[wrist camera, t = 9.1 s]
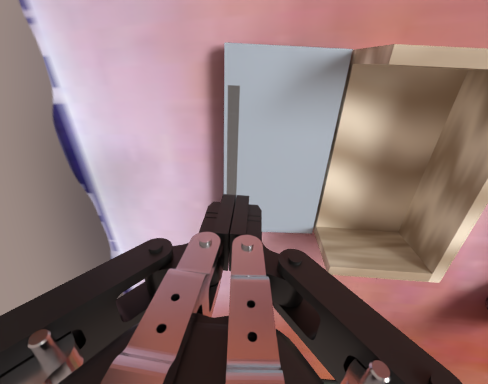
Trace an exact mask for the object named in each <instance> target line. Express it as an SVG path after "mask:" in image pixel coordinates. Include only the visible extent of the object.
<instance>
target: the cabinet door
mask: <svg viewBox="0 0 488 384" xmlns="http://www.w3.org/2000/svg"><path fill="white" fill-rule="evenodd" d="M352 50H353V49H339V48H319V47H300V46H281V45H261V44H242V43H224V194H231V195H236V197H237V195H245V196H249V204H251V205H258V206H259V207H260V209H261V210H262V232H284V233H312V231H313V226H314V222H315V217H316V213H317V208H318V204H319V199H320V195H321V190H322V186H323V181H324V177H325V172H326V168H327V163H328V159H329V154H330V150H331V145H332V141H333V136H334V132H335V127H336V122H337V118H338V113H339V109H340V104H341V100H342V95H343V91H344V86H345V82H346V77H347V73H348V68H349V64H350V59H351V55H352Z"/></svg>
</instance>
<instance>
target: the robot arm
mask: <svg viewBox="0 0 488 384" xmlns="http://www.w3.org/2000/svg"><path fill="white" fill-rule="evenodd" d="M228 266H229V271H231V281H230V303H229V316H224V317H217V318H211V316H212V313H213V309H214V305H215V302H216V298H217V295H218V291H219V287H220V283H221V277H222V272H223V270H225V271H228ZM143 279H145V282H144V283H142V284H140V285H139V286H137V287H136V288H134V289H132V290H131V291H129V292H128V293H126V294H124V295H123V296H121V297H120V298H118V296H119V295H120V294H121V293H122V292H124V291H125V290H127V289H128V288H130V287H132V286H133V285H135V284H137V283H138V282H140V281H142V280H143ZM117 298H118V299H117ZM273 306H274V308H275V309H276V311H277V312H278V313H279V314H280V315H281V316H282V318H283V319H284V320H285V321H286V322H287V323H288V325H289V326H290V327H291V328H292V329H293V331H294V332H295V333H296V334H297V335H298V336H299V338H300V339H301V340H302V341H303V342H304V343H305V345H306V346H307V347H308V348H309V349H310V350H311V352H312V353H313V354H314V355H315V356H316V357H317V359H318V360H319V361H320V362H321V363H322V365H323V366H324V367H325V368H326V369H327V370H328V372H329V373H330V374H331V375H332V376H333V377H334V379H335V380H336V381H337V382H338V383H339V384H462V383H461V382H460V380H459V379H458V378H457V377H456V376H455V375H453V374H452V373H451V372H450V371H449V370H447V369H446V368H445V367H444V366H443V365H441V364H440V363H439V362H438V361H436V360H435V359H434V358H433V357H432V356H430V355H429V354H428V353H427V352H425V351H424V350H423V349H422V348H420V347H419V346H418V345H417V344H416V343H414V342H413V341H412V340H411V339H409V338H408V337H407V336H406V335H405V334H403V333H402V332H401V331H400V330H398V329H397V328H396V327H395V326H393V325H392V324H391V323H390V322H389V321H387V320H386V319H385V318H384V317H382V316H381V315H380V314H379V313H378V312H376V311H375V310H374V309H373V308H371V307H370V306H369V305H368V304H367V303H365V302H364V301H363V300H362V299H360V298H359V297H358V296H357V295H355V294H354V293H353V292H352V291H351V290H349V289H348V288H347V287H346V286H344V285H343V284H342V283H341V282H340V281H338V280H337V279H336V278H335V277H333V276H332V275H331V274H330V273H328V272H327V271H326V270H325V269H324V268H322V267H321V266H320V265H319V264H317V263H316V262H315V261H314V260H313V259H311V258H310V257H309V256H308V255H306V254H305V253H304V252H302V251H299V250H296V249H287V250H284V251H282V252H281V253H280V254H278V253H275V252H272V251H270V250H269V249H267V248H266V247H265V246H264V245H263V243H262V210H261V209H260V207H259V206H258V205H251V204H249V196H245V195H237V197H236V195H231V194H223V197H222V201H221V202H213V203H212V204H210V205H209V206H208V208H207V211H206V214H205V218H204V220H203V222H202V225H201V228H200V231H199V233H198V234H196V235H194V236H193V237H192V238H191V240H190V242H189V243H187V244H184V245H178V246H172V244H171V242H170V241H169V240H167V239H164V238H155V239H151V240H149V241H147V242H145V243H143V244H141V245H139V246H137V247H135V248H133V249H131V250H129V251H127V252H125V253H123V254H121V255H119V256H117V257H115V258H113V259H111V260H109V261H108V262H105V263H103V264H101V265H99V266H97V267H96V268H94V269H92V270H90V271H88V272H86V273H84V274H82V275H80V276H78V277H76V278H74V279H72V280H70V281H68V282H66V283H64V284H62V285H60V286H58V287H56V288H54V289H52V290H50V291H48V292H46V293H44V294H42V295H41V296H38V297H37V298H35V299H33V300H31V301H29V302H27V303H25V304H23V305H21V306H19V307H17V308H15V309H13V310H11V311H9V312H7V313H5V314H3V315H1V316H0V384H324V382H323V381H322V380H321V379H320V377H319V376H318V375H317V373H316V372H315V371H314V369H313V368H312V367H311V365H310V364H309V363H308V362H307V360H306V359H305V358H304V356H303V355H302V354H301V352H300V351H299V350H298V349H297V347H296V346H295V345H294V344H293V342H292V341H291V340H290V339H289V338H288V337H286V336H285V335H284V334H283V333H281V332H280V331H278V330H277V329H276V328H275V320H274V312H273Z"/></svg>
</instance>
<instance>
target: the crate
mask: <svg viewBox="0 0 488 384" xmlns="http://www.w3.org/2000/svg"><path fill="white" fill-rule="evenodd" d="M487 204H488V49H485V48H464V47H442V46H421V45H400V44H393V45H385V46H378V47H371V48H363V49H356V50H352V55H351V59H350V64H349V68H348V73H347V77H346V82H345V86H344V91H343V95H342V100H341V104H340V109H339V113H338V118H337V122H336V127H335V132H334V136H333V141H332V145H331V150H330V154H329V159H328V163H327V168H326V172H325V177H324V181H323V186H322V190H321V195H320V199H319V204H318V208H317V213H316V217H315V222H314V226H313V230H314V233H315V236H316V240H317V243H318V246H319V249H320V252H321V255H322V258H323V261H324V264H325V267H326V270H327V272H328V273H330V274H331V275H341V276H355V277H369V278H382V279H396V280H409V281H423V282H436V283H440V281H441V279H442V278H443V276H444V274H445V273H446V271H447V269H448V268H449V266H450V265H451V263H452V261H453V260H454V258H455V256H456V255H457V253H458V251H459V250H460V248H461V246H462V245H463V243H464V241H465V240H466V238H467V237H468V235H469V233H470V232H471V230H472V228H473V227H474V225H475V223H476V222H477V220H478V218H479V217H480V215H481V213H482V212H483V210H484V209H485V207H486V205H487Z"/></svg>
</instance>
